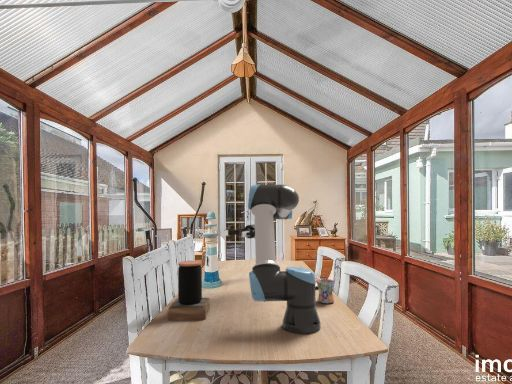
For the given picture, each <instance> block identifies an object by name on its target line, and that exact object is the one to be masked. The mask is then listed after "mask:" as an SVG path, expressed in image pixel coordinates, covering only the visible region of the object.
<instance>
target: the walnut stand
mask: <svg viewBox="0 0 512 384" xmlns="http://www.w3.org/2000/svg"><path fill="white" fill-rule="evenodd" d="M210 308H211V307H210V297H202V300H201V301H200V303H197V304H193V305H183V304H180V302H179V301H178V297H177V298H175V299H174V301H173V302H172V303H171V305H170V306H169V307H168V309H167V311H168V313H167V317H168V318H167V319H168V321H189V320H190V321H196V320H197V321H200V320H201V321H202V320H204V321H205V320H206V319H207V316H208V313H209V310H210Z"/></svg>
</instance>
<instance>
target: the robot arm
mask: <svg viewBox="0 0 512 384" xmlns="http://www.w3.org/2000/svg"><path fill="white" fill-rule="evenodd" d="M248 192H249V193H248V203H247V209H248V210H250V212H251V214H252V215H253V216H254V223H253V224H247V225H246V226H245V227H244V228H238V229H237V228H236V229H224V230H220V231H219V237H228V236H234V235H237V236H241V238H247V239H254V243H255V245H254V246H255V250H254V251H255V264H254V265H253V266H252V269H251V271H249V272H248V279H249V286H250V288H249V289H250V293H251V298H252V300H253V301H254V302H263V303H266V302H286V308H285V310H284V311H285V312H284V314H283V318H282V328H283V329H285V330H286V332H287V331H288V332H290V333H294V334H312V333H316V332H319V331H320V330H321V320H320V316H319V313H318V312H317V307H316V306H317V305H316V303H317V301H316V300H317V299H316V287H315V284H316V282H315V277H316V276H315V272H314V271H312V270H311V269H309V268H304V267H300V266H299V267H298V266H288V267H287V266H286V268H285V271H281V266H280V264H277V257H276V241H275V240H276V239H275V224H274V223H275V222H274V220H285V221H286V220H291V219H292V217H293V210H294V209H296V207H297V206H298V205H299V201H300V197H299V194H298V192H297V191H296V190H295V189H294V188H293V187H291V186H289V185H286V184H253V185H251V186H250V188H249V191H248Z"/></svg>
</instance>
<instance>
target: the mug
mask: <svg viewBox="0 0 512 384" xmlns="http://www.w3.org/2000/svg"><path fill="white" fill-rule="evenodd" d="M316 282H317V285H318V287H317V289H318V296H317V299H316V300H317V301H316V302H319V303H321V304H333V303H334V302H335V299H334V295H333V289H334V284H335V283H336V281H335V280H334V279H328V278H322V279H321V278H320V279H318V280H316Z"/></svg>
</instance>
